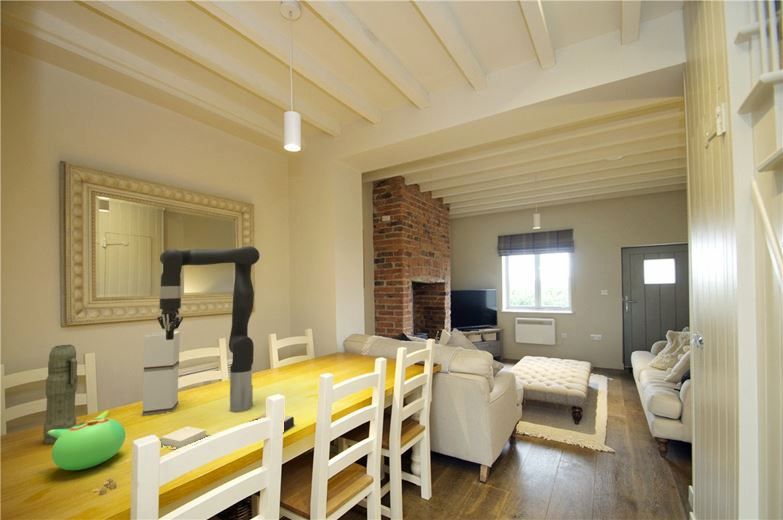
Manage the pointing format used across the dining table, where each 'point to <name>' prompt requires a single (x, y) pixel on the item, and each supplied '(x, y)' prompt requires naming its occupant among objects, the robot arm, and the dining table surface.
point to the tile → (183, 437)
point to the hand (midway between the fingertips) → (169, 339)
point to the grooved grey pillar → (160, 373)
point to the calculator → (287, 421)
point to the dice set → (106, 486)
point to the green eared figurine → (87, 443)
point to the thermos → (60, 390)
